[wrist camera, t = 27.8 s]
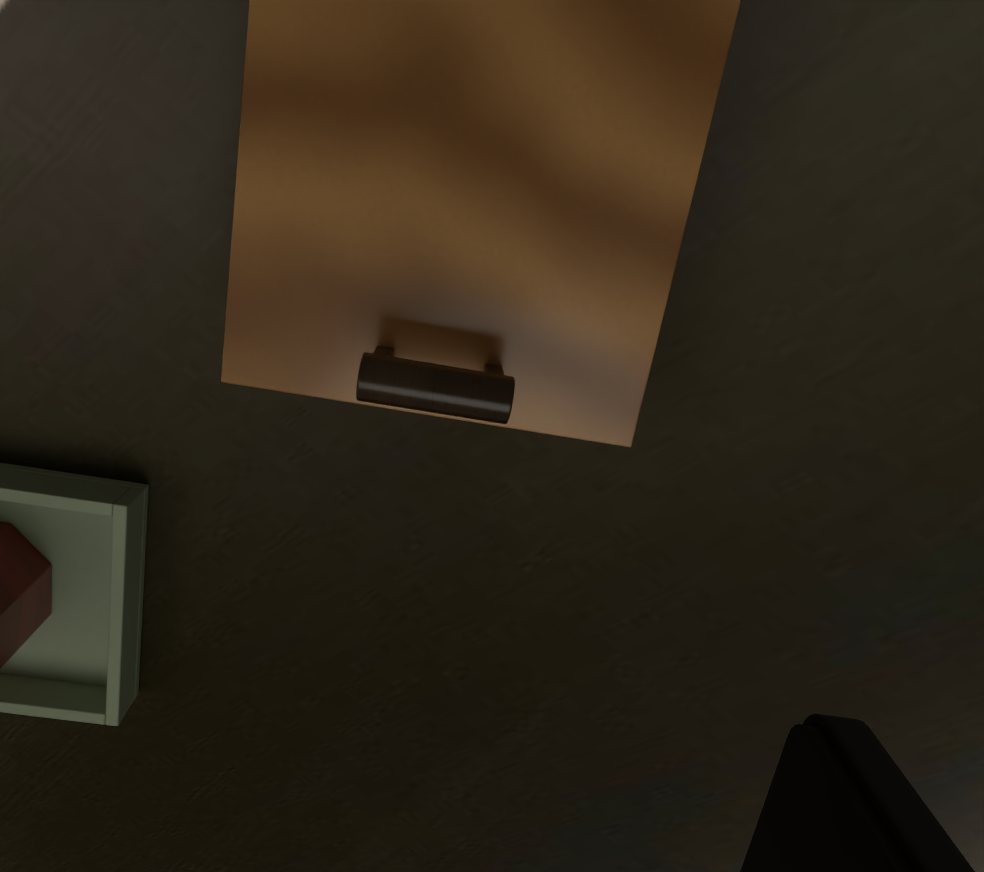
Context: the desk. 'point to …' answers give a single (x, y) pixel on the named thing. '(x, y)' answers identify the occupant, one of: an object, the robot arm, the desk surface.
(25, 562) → the red octagonal tube
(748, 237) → the desk surface
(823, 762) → the robot arm
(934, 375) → the desk surface
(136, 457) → the desk surface
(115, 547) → the tray
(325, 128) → the lid
